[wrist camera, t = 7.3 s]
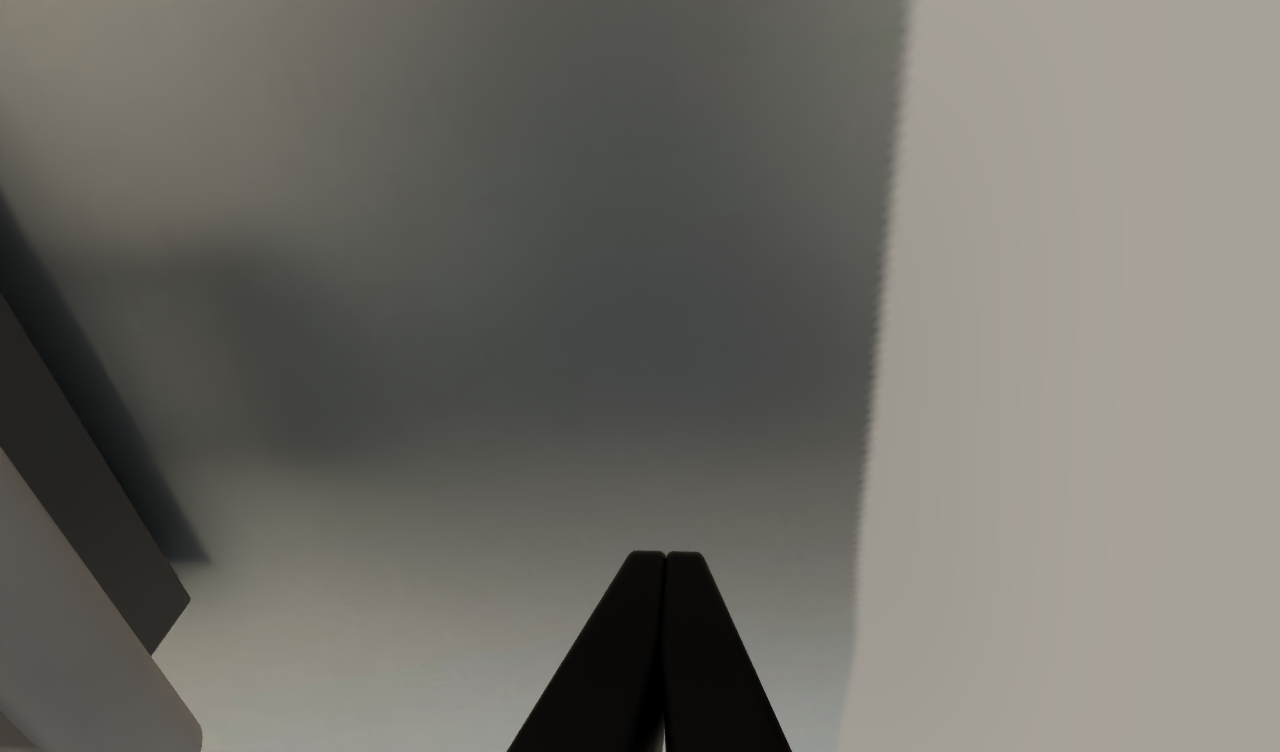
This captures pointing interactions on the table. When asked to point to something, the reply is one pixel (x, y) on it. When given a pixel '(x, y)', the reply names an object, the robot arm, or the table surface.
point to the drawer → (76, 583)
